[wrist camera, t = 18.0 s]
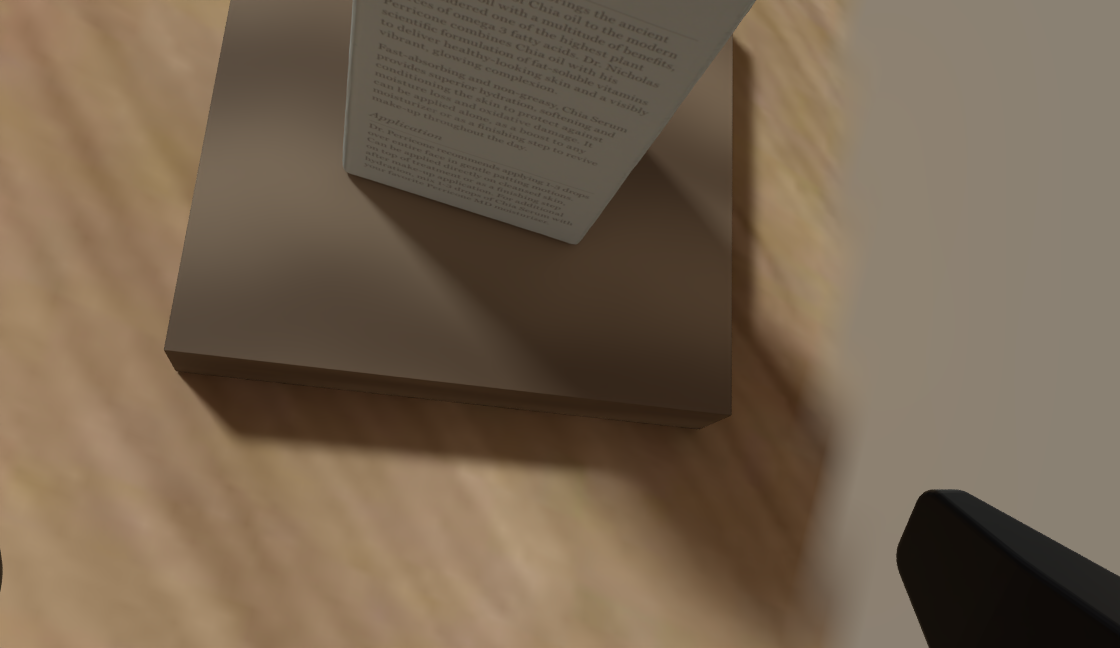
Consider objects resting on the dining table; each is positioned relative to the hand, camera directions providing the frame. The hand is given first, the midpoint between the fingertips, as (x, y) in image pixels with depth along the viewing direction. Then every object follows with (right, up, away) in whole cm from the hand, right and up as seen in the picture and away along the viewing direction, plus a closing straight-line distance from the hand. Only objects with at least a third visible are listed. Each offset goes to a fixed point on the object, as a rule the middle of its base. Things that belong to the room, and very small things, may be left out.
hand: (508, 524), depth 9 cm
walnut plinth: (-2, +6, +16) cm, 17 cm away
